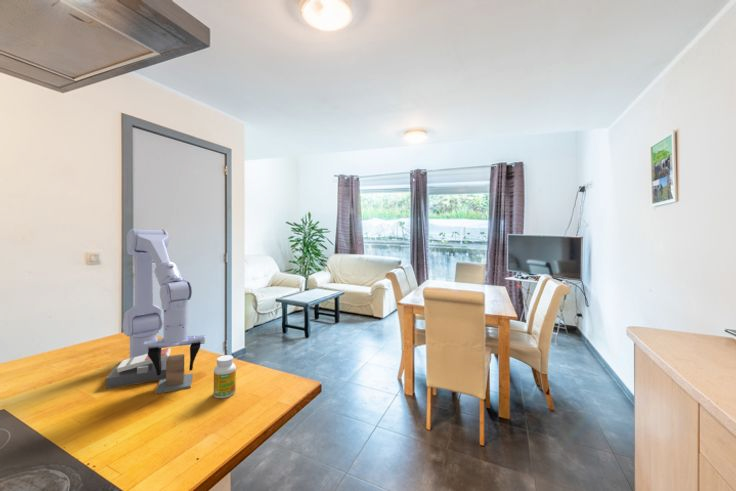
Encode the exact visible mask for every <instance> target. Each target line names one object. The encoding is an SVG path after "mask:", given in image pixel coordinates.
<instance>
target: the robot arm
mask: <svg viewBox="0 0 736 491" xmlns="http://www.w3.org/2000/svg"><path fill="white" fill-rule="evenodd" d="M169 238H170V236H169V233H168V231H167V230H166V229H139V228H138V229H137V228H136V229H135V228H131V229H130V230H128V232H127V235H126V251H127V255H131V256H133V263H134V264H133V265H134V269H133V270H134V305H133V306H132V307H130V308H129V309H128V310H126V311H125V312H124V315H123V321H122V331H123V334H124V335H125V336H126V337H129V359H130V358H133V357H137V356H141V355H145V354H148V357H149V358H150V359H151V361H152V362H153V364H154V366H155V369H156V372H157V376H158V375H160V374H161V350H162V349H166V348H173V347H182V346H190V347H189V367H188V368H189V371H190V372H191V371H193V369H194V363H195V360H196V357H197V354H198V352H199V350H200V348H201V345H203V344H206V343H205V342H206V335H203V334H202V335H188V322H189V320H188V318H189V317H188V311H189V307H188V306H189V305H188V302H189V301H190V300H191V299H192V294H193V289H192V284H191V282H190V281H189V280H188V279H186V278H185V277H184V278H183V276H182V274H181V272H180V269H179V268H178V266H177V263H175V262H172V261H171V260H170V256H169V253H168V250H167V248H168V246H169V240H170V239H169ZM153 263H154V264H155V266H156V267H155V268H154V271H153ZM153 272H154V275H155V277H156V280H157V282H158V285H159V287H160V289H159V298H160V302H161V304H160V305H161V307H159V306H158V305H155V304H154V297H153V296H154V294H153V293H154V292H153V290H154V287H153V286H154V284H153V279H154V278H153ZM161 329H163V331H162V332H163V333H162V334H163V335H162V336H163V338H159V339H158V333H159V332H160V330H161Z"/></svg>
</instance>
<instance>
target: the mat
mask: <svg viewBox="0 0 736 491" xmlns="http://www.w3.org/2000/svg"><path fill="white" fill-rule="evenodd" d="M193 377H194V373H187V374H184V382H183V384H178V385H172V386H167V387H166V378H161V380H159V383H158V385H157V388H156V390H155V394H162V393H167V392H172V391H173V392H174V391H179V390H184V389H191V386H192V382H193Z"/></svg>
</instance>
